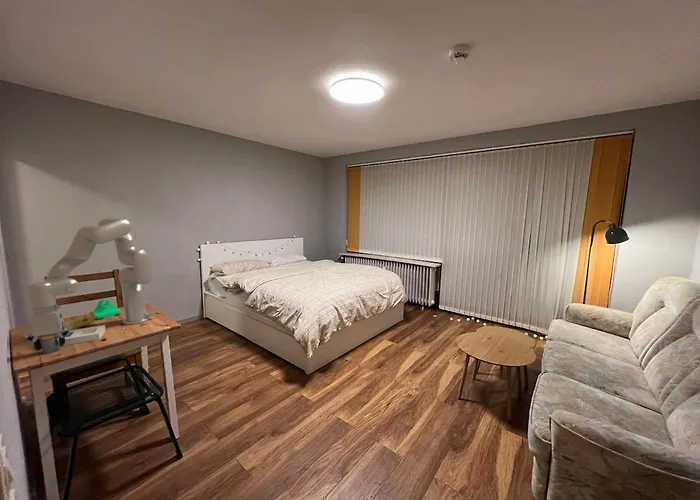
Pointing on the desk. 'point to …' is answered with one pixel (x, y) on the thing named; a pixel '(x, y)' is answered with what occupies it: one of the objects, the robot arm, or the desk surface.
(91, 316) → the plastic component
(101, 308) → the camera mount
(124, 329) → the desk surface
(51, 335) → the gray jar
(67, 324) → the grey cylinder
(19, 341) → the desk surface
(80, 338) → the tray
